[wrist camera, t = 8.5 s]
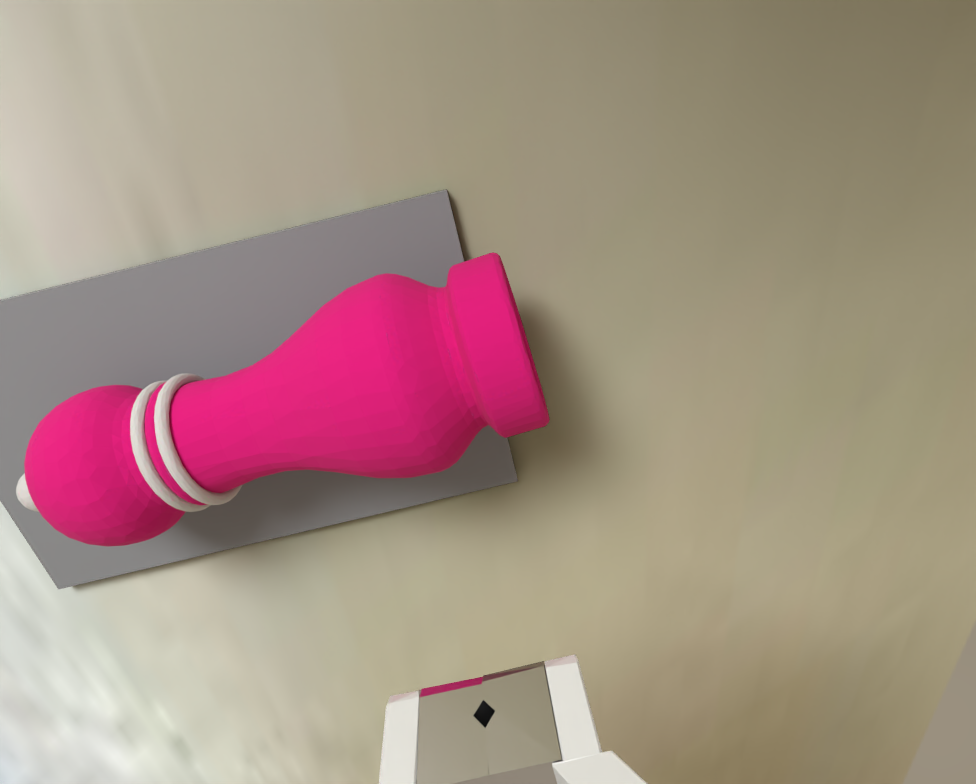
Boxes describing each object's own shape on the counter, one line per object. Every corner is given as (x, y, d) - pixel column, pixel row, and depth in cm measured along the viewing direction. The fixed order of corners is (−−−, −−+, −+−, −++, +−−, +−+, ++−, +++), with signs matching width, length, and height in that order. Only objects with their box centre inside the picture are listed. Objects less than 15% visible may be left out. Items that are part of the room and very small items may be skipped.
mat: (446, 189, 23) (446, 190, 23) (516, 474, 28) (517, 481, 28) (-99, 324, 24) (-112, 329, 23) (65, 580, 29) (58, 589, 28)
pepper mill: (499, 247, 24) (61, 392, 26) (486, 221, 17) (-112, 422, 19) (551, 417, 25) (122, 545, 27) (559, 460, 18) (-24, 628, 20)
